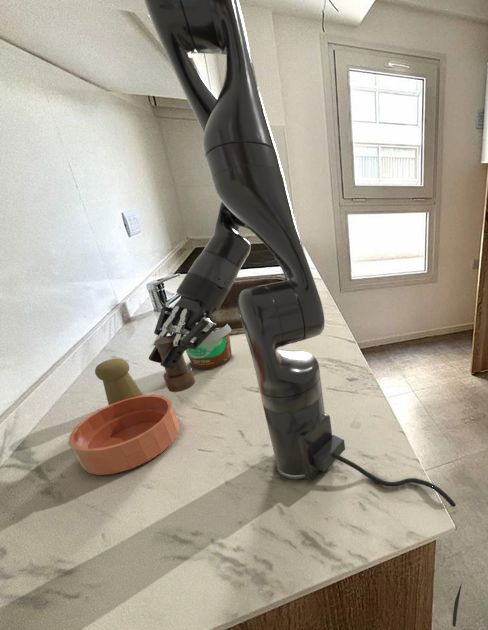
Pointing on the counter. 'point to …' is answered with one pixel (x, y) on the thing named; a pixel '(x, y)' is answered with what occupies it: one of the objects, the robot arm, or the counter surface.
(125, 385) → the olive knobbed tapered cylinder
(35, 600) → the counter surface
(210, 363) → the food container
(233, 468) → the counter surface
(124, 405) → the bowl
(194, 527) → the counter surface
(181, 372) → the pestle
